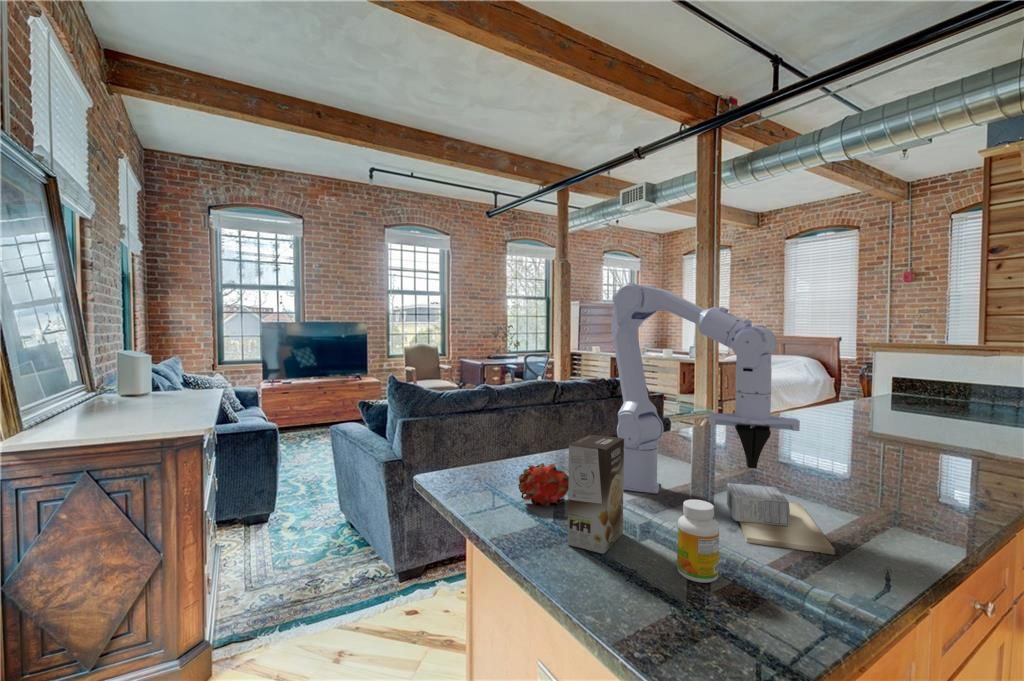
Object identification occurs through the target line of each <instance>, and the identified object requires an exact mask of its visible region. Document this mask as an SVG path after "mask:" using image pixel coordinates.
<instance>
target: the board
mask: <svg viewBox="0 0 1024 681" xmlns="http://www.w3.org/2000/svg"><path fill="white" fill-rule="evenodd" d="M788 502H789V501H788ZM789 508H790V520H789V526H781V525H771V524H761V523H751V522H741V521H738V523H739V524H740V527H741V530H742V532H743V536H744V539H745V541H746V543H750V544H755V545H756V544H757V545H764V546H770V547H776V548H785V549H791V550H799V551H806V552H807V551H808V552H812V551H813V552H814V553H819V552H820V554H828V555H835V552H836V550H835V548H834V546H833V545H832V544H831V542H830V541H829V540H828V538H826V536H825V535H824V533H823V532H822V530H821V529H820V528H819V526H817V524H816V522H815V521H814V520H813V519H812V517H811V516H810V515H809V513H808V512H807V511H806V509H805V508H804V506H802V504H801V503H797V502H789Z"/></svg>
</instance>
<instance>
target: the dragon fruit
mask: <svg viewBox="0 0 1024 681" xmlns="http://www.w3.org/2000/svg"><path fill="white" fill-rule="evenodd" d="M527 467H529V468H526V469H524V470H523V473H521V474H520V475H519V477H518V478H519V480H518V482H519V484H517V486H518V490H519V492H520V493H521V498H522V499H523V500H524V501H531V504H532V505H537V504H538V503H540V504H541V505H542V506H545V507H549V506H550V504H557V505H559V504H561V503H562V502H563V501H565V499H564V498H563V497H564V496H566V495H567V494H568V482H569V474H567V473H565V471H564V470H562V469H561V470H559V469H557V467H556V465H555V464H554V463H551V464H549V465H548V466H546V465H545V463H543V462H542V463H540V464H538V465H536V466H535V465H532V464H528V466H527ZM524 495H525V496H524Z"/></svg>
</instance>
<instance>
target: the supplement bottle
mask: <svg viewBox="0 0 1024 681" xmlns="http://www.w3.org/2000/svg"><path fill="white" fill-rule="evenodd" d="M682 512H683V515H681V516H680V517H679V518H678V521H677V553H676V554H677V558H676V560H677V561H676V562H677V563H676V567H677V569H676V570H677V572H678V573H679V575H680V576H682V577H684V578H685V579H687V580H690V581H691V582H692V581H693V582H697V583H700V584H701V583H705V584H706V583H713V582H715V581H716V580H717V579H718V578H719V572H720V571H719V570H720V569H719V568H720V526H719V524H718V523H717V522H718V521H715V519H713V518H714V517H715V506H714V505H713V504H712V503H711V502H709V501H706V500H702V499H686V500H684V501H683V504H682Z"/></svg>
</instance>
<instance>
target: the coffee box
mask: <svg viewBox="0 0 1024 681" xmlns="http://www.w3.org/2000/svg"><path fill="white" fill-rule="evenodd" d="M568 477H569V482H568V492H567V498H568V499H567V504H568V505H567V545H568V546H569V547H570V546H571V547H575V548H578V549H583V550H587V551H590V552H594V553H599V554H602V555H603V554H605V553H606V552H607V551H608V550H610V548H611V547H612V546H613V545H614V544H615V543H616V541H617V540H618V539H619V538H620V537H621V536H622V534H623V532H624V531H623V530H624V490H623V481H624V439H623V438H618V436H617V437H616V436H609V435H608V436H607V435H597V434H588V435H586V436H584V437H582V438H580V439H577V440H575V441H572V442H570V443H569V444H568Z"/></svg>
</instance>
